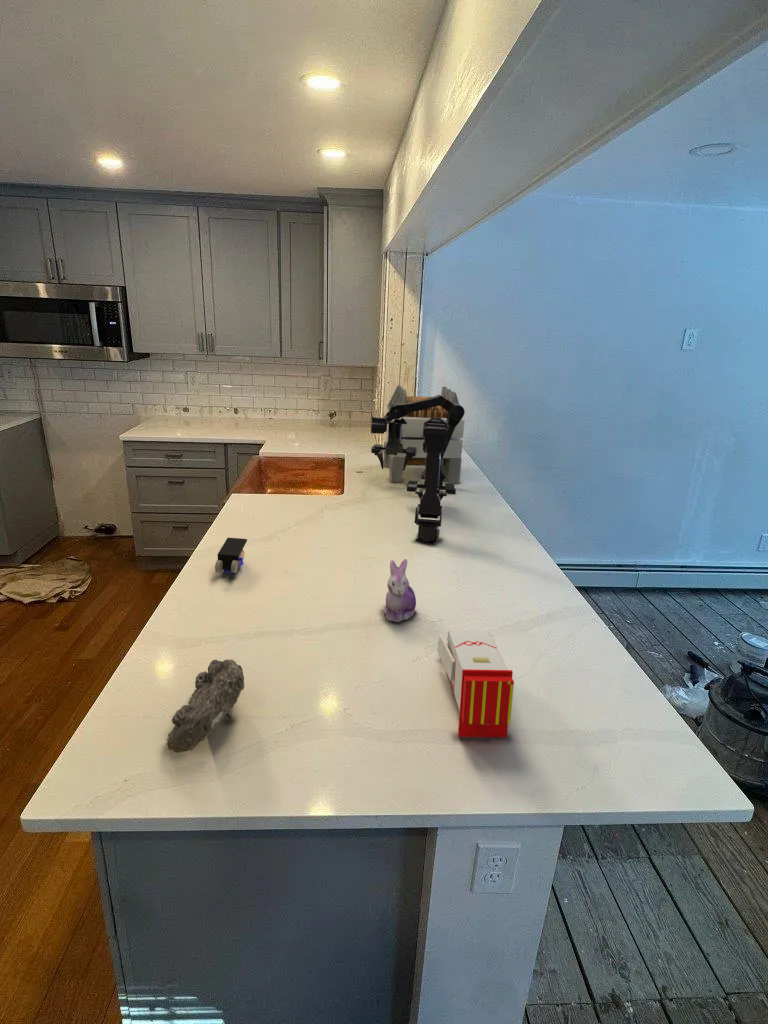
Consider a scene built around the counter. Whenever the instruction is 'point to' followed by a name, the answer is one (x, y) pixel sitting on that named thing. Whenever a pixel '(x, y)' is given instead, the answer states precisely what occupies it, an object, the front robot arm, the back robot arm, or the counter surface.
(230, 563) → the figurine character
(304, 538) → the counter surface
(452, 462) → the transformer
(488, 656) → the toy
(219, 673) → the fossil
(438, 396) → the back robot arm
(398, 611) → the figurine
